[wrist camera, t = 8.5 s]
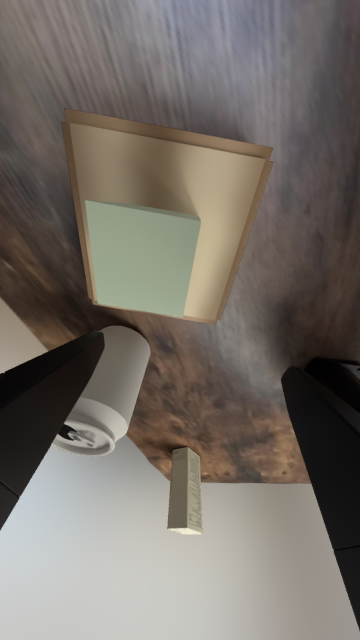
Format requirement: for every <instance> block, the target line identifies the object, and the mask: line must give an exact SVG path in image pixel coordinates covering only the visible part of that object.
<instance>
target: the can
mask: <svg viewBox="0 0 360 640" xmlns="http://www.w3.org/2000/svg"><path fill="white" fill-rule="evenodd" d="M100 331H101V332H103V333H104V341H105V348H104V351H103V353H102V355H101V357H100V360H99V362H98V364H97V366H96V368H95V371H94V373H93V375H92V377H91V379H90V381H89V382H88V384H87V386H86V387H85V389H84V391H83V392H82V394H81V396H80V397H79V399H78V401H77V402H76V404H75V406H74V408H73V409H72V411H71V413H70V414H69V416H68V418H67V419H66V421H65V423H64V424H63V426H62V428H61V429H60V431H59V433H58V434H57V436H56V438H55V439H54V441H53V443H52V444H51V446H52V447H54V448H57V449H59V450H61V451H64V452H68V453H71V454H75V455H80V456H91V457H93V456H103V455H106V454H109V453H110V452H111V451H113V450H114V447H115V441H117V440H118V439H120V438H121V437H122V436H124V435H125V434H126V432H127V429H128V426H129V423H130V420H131V416H132V413H133V410H134V406H135V403H136V400H137V396H138V393H139V390H140V386H141V383H142V380H143V376H144V373H145V370H146V366H147V363H148V360H149V356H150V346H149V345H148V343H147V341H146V339H145V338H144V337H143V336H142V335H141V334H139V333H138V332H136V331H134V330H132V329H130V328H127V327H123V326H109V327H105V328H103V329H102V330H100Z"/></svg>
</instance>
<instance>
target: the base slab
mask: <svg viewBox="0 0 360 640" xmlns="http://www.w3.org/2000/svg"><path fill="white" fill-rule="evenodd" d="M64 110H65V117H66V123H65V122H62V129H63V135H64V141H65V148H66V154H67V161H68V167H69V173H70V180H71V186H72V193H73V199H74V205H75V212H76V218H77V225H78V231H79V237H80V244H81V250H82V257H83V263H84V269H85V276H86V282H87V289H88V295H89V299H92V302H93V305H99V306H105V307H112V308H118V309H124V310H130V311H136V312H142V313H148V314H154V315H160V316H166V317H172V318H179V319H185V320H191V321H197V322H203V323H209V324H215V325H216V323H217V320H221V317H222V314H223V311H224V308H225V305H226V303H227V300H228V297H229V294H230V291H231V288H232V285H233V282H234V279H235V276H236V273H237V270H238V267H239V264H240V261H241V258H242V255H243V252H244V249H245V246H246V243H247V240H248V237H249V234H250V231H251V228H252V225H253V222H254V219H255V216H256V213H257V210H258V207H259V204H260V201H261V198H262V195H263V192H264V189H265V186H266V183H267V180H268V177H269V174H270V171H271V168H272V165H273V162H272V161H269V159H270V156H271V153H272V150H273V148H272V147H267V146H262V145H256V144H251V143H246V142H241V141H235V140H230V139H225V138H220V137H214V136H209V135H204V134H198V133H193V132H188V131H183V130H177V129H172V128H167V127H162V126H156V125H151V124H146V123H140V122H135V121H130V120H125V119H119V118H114V117H109V116H104V115H98V114H93V113H88V112H83V111H77V110H72V109H67V108H64ZM85 200H90V201H104V202H118V203H130V204H136V205H141V206H147V207H152V208H158V209H163V210H169V211H174V212H180V213H185V214H191V215H196V216H199V218H200V220H201V226H200V231H199V236H198V241H197V247H196V252H195V257H194V262H193V267H192V273H191V278H190V283H189V288H188V293H187V299H186V304H185V309H184V314H183V318H180V317H174V316H168V315H162V314H156V313H150V312H144V311H138V310H132V309H126V308H120V307H114V306H108V305H102V304H98V301H97V293H96V285H95V277H94V269H93V261H92V253H91V245H90V237H89V229H88V221H87V213H86V205H85Z"/></svg>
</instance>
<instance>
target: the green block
mask: <svg viewBox="0 0 360 640" xmlns="http://www.w3.org/2000/svg"><path fill="white" fill-rule="evenodd" d="M85 205H86V213H87V221H88V229H89V237H90V245H91V253H92V261H93V269H94V277H95V285H96V293H97V301H98V304H102V305H108V306H114V307H120V308H126V309H132V310H138V311H144V312H150V313H156V314H162V315H168V316H174V317H180V318H183V314H184V309H185V304H186V299H187V293H188V288H189V283H190V278H191V273H192V267H193V262H194V257H195V252H196V247H197V241H198V236H199V231H200V226H201V220H200V218H199V216H196V215H191V214H185V213H180V212H174V211H169V210H163V209H158V208H152V207H147V206H141V205H136V204H130V203H118V202H104V201H90V200H85Z"/></svg>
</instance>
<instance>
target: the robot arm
mask: <svg viewBox="0 0 360 640" xmlns="http://www.w3.org/2000/svg"><path fill="white" fill-rule="evenodd" d="M104 348H105V341H104V333H103V332H101V331H92V332H89V333H87V334H85V335H83V336H81V337H79V338H76V339H74V340H72V341H70V342H68V343H66V344H64V345H61V346H59V347H57V348H55V349H53V350H51V351H48V352H46V353H44V354H42V355H40V356H38V357H36V358H34V359H31V360H29V361H27V362H25V363H23V364H20V365H19V366H16V367H14V368H12V369H10V370H8V371H5V373H1V374H0V530H1V528H2V527H3V525H4V523H5V522H6V520H7V518H8V517H9V515H10V513H11V511H12V510H13V508H14V506H15V505H16V503H17V502H18V500H19V497H20V496H21V495H22V493H23V491H24V489H25V488H26V486H27V484H28V483H29V481H30V479H31V478H32V476H33V474H34V473H35V471H36V469H37V468H38V466H39V464H40V463H41V461H42V459H43V458H44V456H45V454H46V453H47V451H48V449H49V448H50V446H51V444H52V443H53V441H54V439H55V438H56V436H57V434H58V433H59V431H60V429H61V428H62V426H63V424H64V423H65V421H66V419H67V418H68V416H69V414H70V413H71V411H72V409H73V408H74V406H75V404H76V402H77V401H78V399H79V397H80V396H81V394H82V392H83V391H84V389H85V387H86V386H87V384H88V382H89V381H90V379H91V377H92V375H93V373H94V371H95V368H96V366H97V364H98V362H99V360H100V357H101V355H102V353H103V351H104ZM359 373H360V364H354V363H348V362H341V361H335V360H329V359H323V358H315V359H313V360H312V361H311V363H310V364H309V365H308V366H307V367H306V369H305V370H303V369H302V368H300V367H297V366H289V367H288V369H287V370H286V371H285V373H284V374H283V375H282V377H281V383H282V388H283V392H284V397H285V401H286V406H287V410H288V414H289V417H290V420H291V423H292V426H293V429H294V432H295V435H296V438H297V441H298V444H299V447H300V450H301V453H302V456H303V459H304V463H305V466H306V469H307V472H308V475H309V478H310V481H311V484H312V487H313V490H314V493H315V496H316V499H317V502H318V505H319V508H320V511H321V514H322V517H323V520H324V523H325V526H326V529H327V532H328V535H329V538H330V541H331V544H332V548H333V549H334V554H335V557H336V560H337V563H338V566H339V569H340V572H341V575H342V578H343V581H344V585H345V588H346V591H347V593H348V597H349V600H350V603H351V606H352V609H353V612H354V615H355V618H356V621H357V624H358V627H359V630H360V380H359V379H358V378H357V377H356V376H357V375H358V374H359Z"/></svg>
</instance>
